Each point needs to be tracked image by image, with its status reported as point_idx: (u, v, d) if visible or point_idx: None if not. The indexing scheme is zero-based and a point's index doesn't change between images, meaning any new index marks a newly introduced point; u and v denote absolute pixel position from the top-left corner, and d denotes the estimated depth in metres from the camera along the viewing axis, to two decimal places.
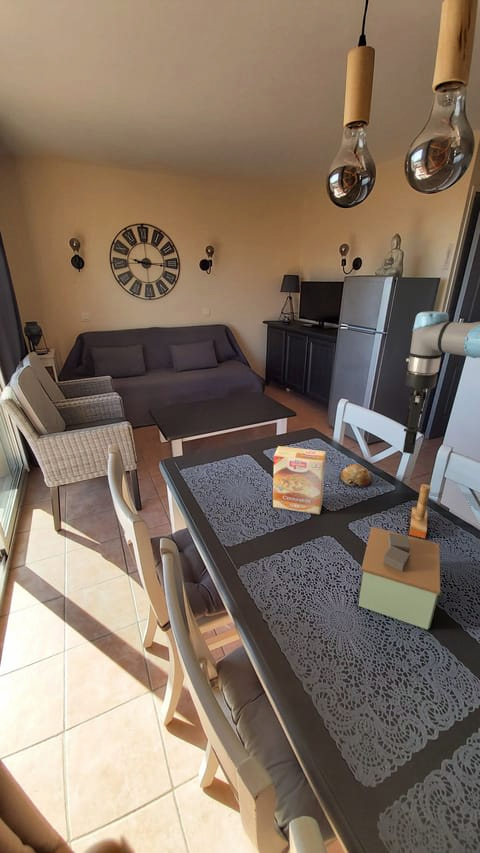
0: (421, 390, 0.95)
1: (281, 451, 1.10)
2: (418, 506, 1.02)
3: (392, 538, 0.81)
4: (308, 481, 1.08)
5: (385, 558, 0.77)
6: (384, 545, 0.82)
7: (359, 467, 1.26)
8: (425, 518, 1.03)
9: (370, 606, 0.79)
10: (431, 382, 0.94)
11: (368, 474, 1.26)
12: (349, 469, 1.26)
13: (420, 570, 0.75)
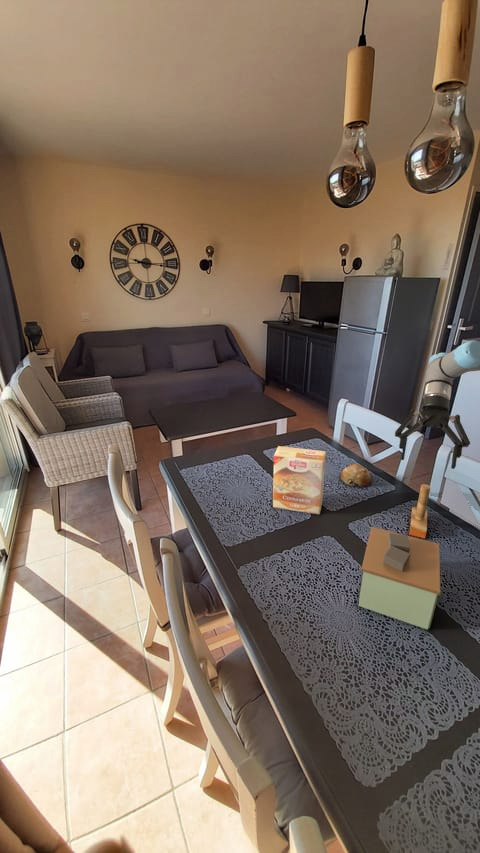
0: None
1: (281, 451, 1.10)
2: (418, 506, 1.02)
3: (392, 538, 0.81)
4: (308, 481, 1.08)
5: (385, 558, 0.77)
6: (384, 545, 0.82)
7: (359, 467, 1.26)
8: (425, 518, 1.03)
9: (370, 606, 0.79)
10: (426, 400, 1.12)
11: (368, 474, 1.26)
12: (349, 469, 1.26)
13: (420, 570, 0.75)
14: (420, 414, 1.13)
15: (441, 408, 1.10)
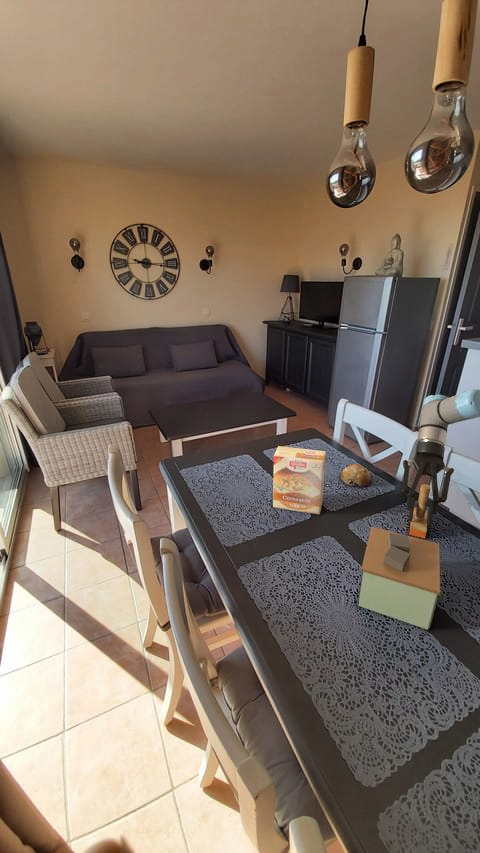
0: (415, 454, 1.07)
1: (281, 451, 1.10)
2: (418, 506, 1.02)
3: (392, 538, 0.81)
4: (308, 481, 1.08)
5: (385, 558, 0.77)
6: (384, 545, 0.82)
7: (359, 467, 1.26)
8: (425, 518, 1.03)
9: (370, 606, 0.79)
10: (420, 446, 1.06)
11: (368, 474, 1.26)
12: (349, 469, 1.26)
13: (420, 570, 0.75)
14: (413, 461, 1.06)
15: (436, 455, 1.04)
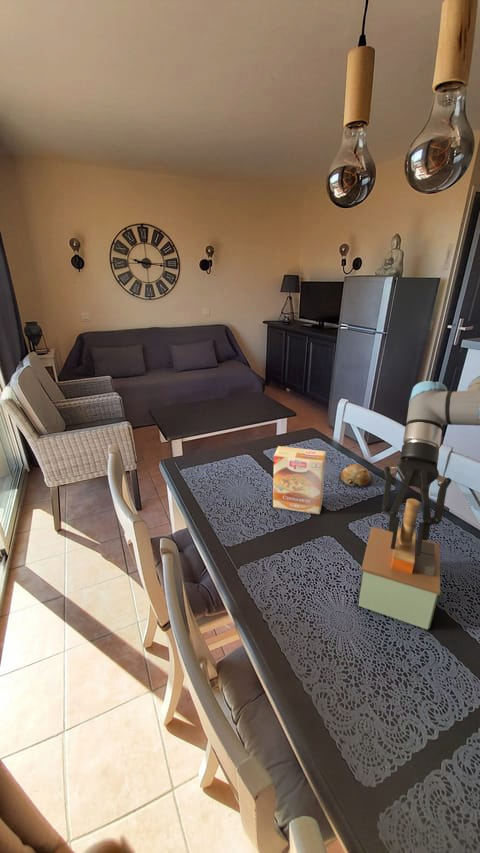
0: (400, 459, 0.81)
1: (281, 451, 1.10)
2: (403, 528, 0.76)
3: None
4: (308, 481, 1.08)
5: (414, 566, 0.74)
6: (384, 545, 0.82)
7: (359, 467, 1.26)
8: (413, 543, 0.77)
9: (370, 606, 0.79)
10: (407, 448, 0.80)
11: (368, 474, 1.26)
12: (349, 469, 1.26)
13: None
14: (398, 468, 0.80)
15: (427, 461, 0.78)
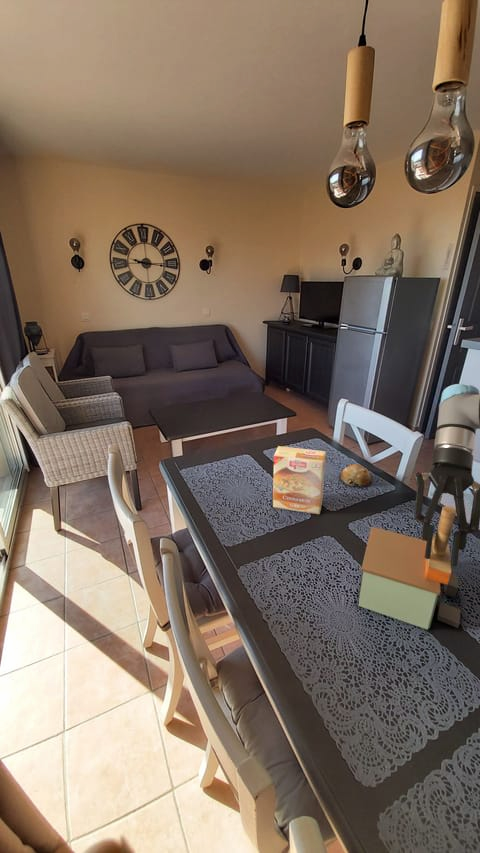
0: (432, 465, 0.78)
1: (281, 451, 1.10)
2: (438, 536, 0.73)
3: None
4: (308, 481, 1.08)
5: (456, 627, 0.75)
6: (384, 545, 0.82)
7: (359, 467, 1.26)
8: (447, 552, 0.75)
9: (370, 606, 0.79)
10: (439, 453, 0.77)
11: (368, 474, 1.26)
12: (349, 469, 1.26)
13: (420, 570, 0.75)
14: (430, 474, 0.77)
15: (461, 467, 0.75)
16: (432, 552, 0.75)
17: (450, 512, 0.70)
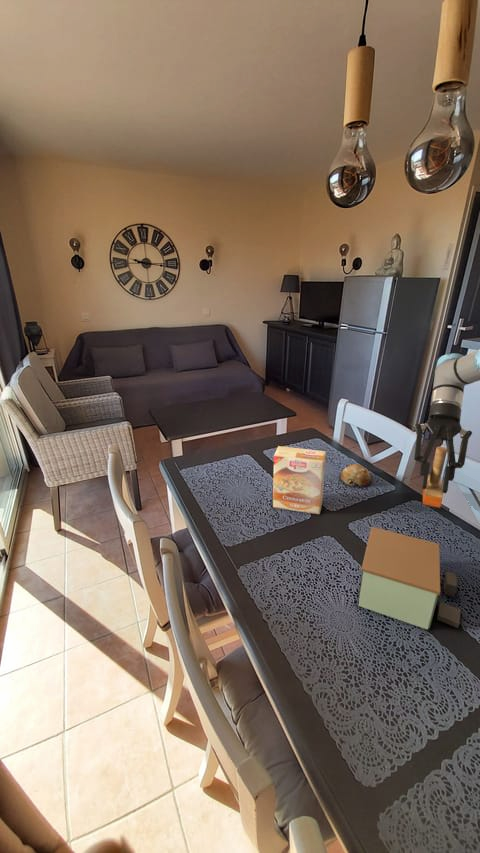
0: (428, 418, 0.98)
1: (281, 451, 1.10)
2: (433, 471, 0.93)
3: None
4: (308, 481, 1.08)
5: (456, 627, 0.75)
6: (384, 545, 0.82)
7: (359, 467, 1.26)
8: (440, 484, 0.95)
9: (370, 606, 0.79)
10: (434, 408, 0.97)
11: (368, 474, 1.26)
12: (349, 469, 1.26)
13: (420, 570, 0.75)
14: (427, 424, 0.97)
15: (451, 418, 0.95)
16: (428, 484, 0.95)
17: (442, 450, 0.90)
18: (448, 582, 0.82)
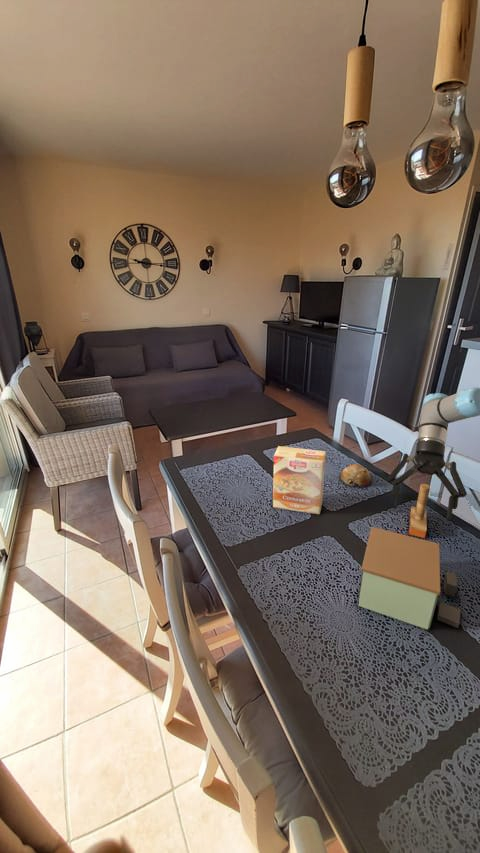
0: (415, 453, 1.07)
1: (281, 451, 1.10)
2: (418, 506, 1.02)
3: None
4: (308, 481, 1.08)
5: (456, 627, 0.75)
6: (384, 545, 0.82)
7: (359, 467, 1.26)
8: (424, 517, 1.04)
9: (370, 606, 0.79)
10: (420, 444, 1.05)
11: (368, 474, 1.26)
12: (349, 469, 1.26)
13: (420, 570, 0.75)
14: (414, 459, 1.06)
15: (436, 454, 1.03)
16: (414, 518, 1.04)
17: (425, 488, 0.99)
18: (448, 582, 0.82)
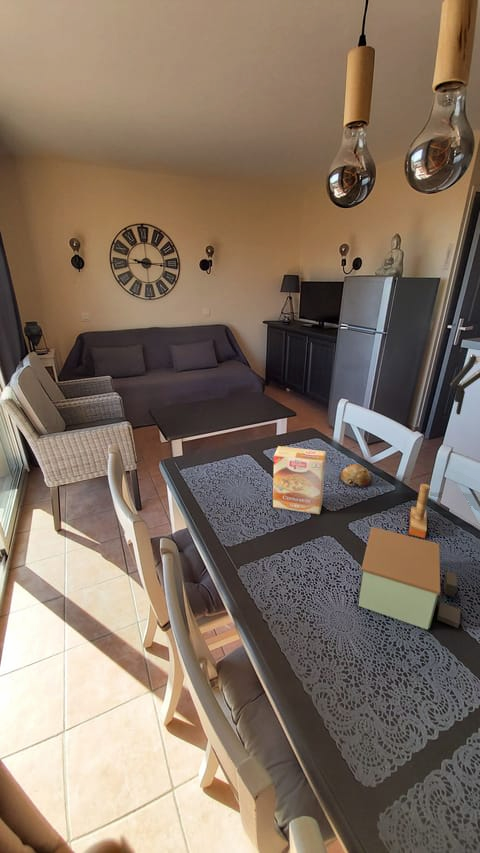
0: None
1: (281, 451, 1.10)
2: (418, 506, 1.02)
3: None
4: (308, 481, 1.08)
5: (456, 627, 0.75)
6: (384, 545, 0.82)
7: (359, 467, 1.26)
8: (424, 517, 1.04)
9: (370, 606, 0.79)
10: None
11: (368, 474, 1.26)
12: (349, 469, 1.26)
13: (420, 570, 0.75)
14: None
15: None
16: (414, 518, 1.04)
17: (425, 488, 0.99)
18: (448, 582, 0.82)
